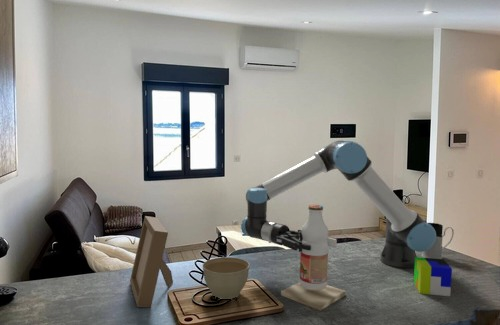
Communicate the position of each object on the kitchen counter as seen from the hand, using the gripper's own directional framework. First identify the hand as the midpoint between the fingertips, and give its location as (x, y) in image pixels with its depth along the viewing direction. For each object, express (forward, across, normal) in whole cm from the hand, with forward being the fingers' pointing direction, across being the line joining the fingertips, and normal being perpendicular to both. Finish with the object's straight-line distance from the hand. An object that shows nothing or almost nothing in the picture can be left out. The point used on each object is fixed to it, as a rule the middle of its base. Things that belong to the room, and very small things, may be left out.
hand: (328, 246), depth 128 cm
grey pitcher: (+13, -75, -19) cm, 78 cm away
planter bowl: (-27, +21, -19) cm, 39 cm away
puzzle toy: (+23, -35, -19) cm, 46 cm away
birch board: (-5, 0, -19) cm, 19 cm away
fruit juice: (-5, 0, -15) cm, 16 cm away
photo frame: (-46, +37, -19) cm, 62 cm away
